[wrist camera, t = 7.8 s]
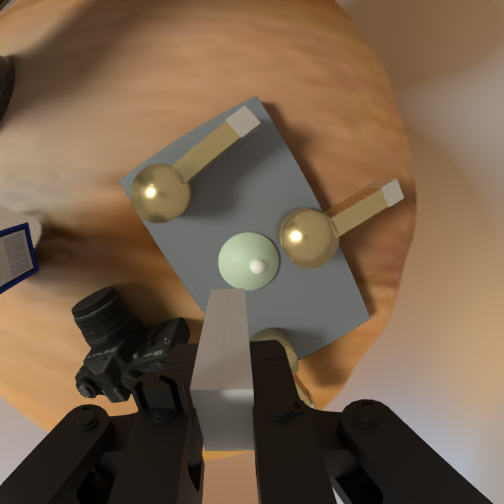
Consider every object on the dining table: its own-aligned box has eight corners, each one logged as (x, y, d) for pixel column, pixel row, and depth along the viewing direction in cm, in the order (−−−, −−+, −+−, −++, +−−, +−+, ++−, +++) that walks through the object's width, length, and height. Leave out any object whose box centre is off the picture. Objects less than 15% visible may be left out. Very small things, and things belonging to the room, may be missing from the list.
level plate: (126, 180, 26) (114, 180, 23) (254, 101, 25) (257, 92, 22) (255, 371, 33) (257, 386, 30) (363, 311, 32) (374, 322, 29)
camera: (161, 264, 29) (131, 302, 20) (197, 342, 32) (187, 398, 22) (73, 297, 29) (31, 334, 20) (110, 363, 32) (84, 410, 23)
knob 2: (239, 341, 29) (241, 363, 26) (279, 321, 29) (285, 341, 25) (288, 402, 33) (293, 424, 29) (321, 386, 32) (329, 407, 28)
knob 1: (167, 227, 26) (155, 236, 22) (135, 190, 25) (119, 192, 21) (266, 143, 24) (272, 136, 20) (233, 105, 23) (233, 92, 19)
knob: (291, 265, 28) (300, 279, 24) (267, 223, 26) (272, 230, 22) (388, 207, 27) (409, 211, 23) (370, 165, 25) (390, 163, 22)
